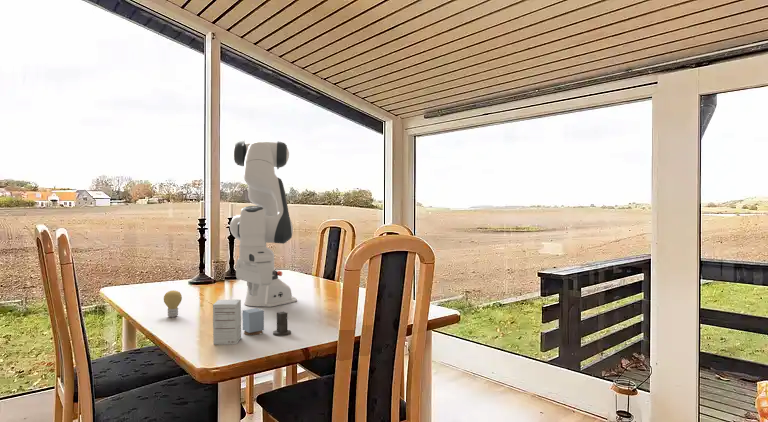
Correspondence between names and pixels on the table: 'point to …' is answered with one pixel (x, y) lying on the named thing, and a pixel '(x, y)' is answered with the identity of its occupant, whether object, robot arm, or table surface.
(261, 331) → the walnut post
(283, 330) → the black post
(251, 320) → the cap
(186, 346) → the table surface
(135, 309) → the table surface
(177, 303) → the light bulb
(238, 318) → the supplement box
